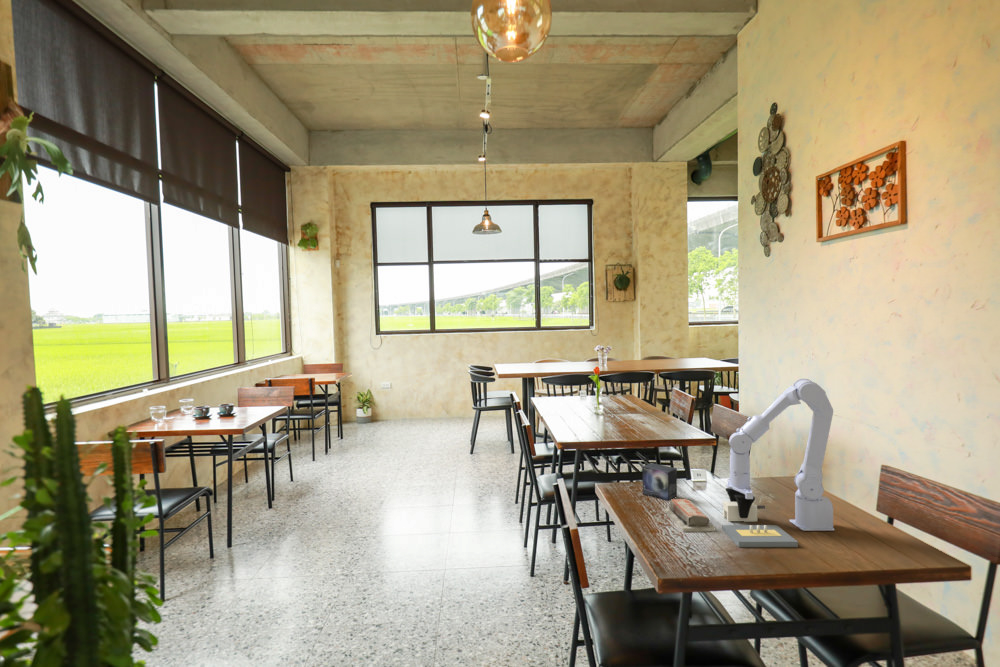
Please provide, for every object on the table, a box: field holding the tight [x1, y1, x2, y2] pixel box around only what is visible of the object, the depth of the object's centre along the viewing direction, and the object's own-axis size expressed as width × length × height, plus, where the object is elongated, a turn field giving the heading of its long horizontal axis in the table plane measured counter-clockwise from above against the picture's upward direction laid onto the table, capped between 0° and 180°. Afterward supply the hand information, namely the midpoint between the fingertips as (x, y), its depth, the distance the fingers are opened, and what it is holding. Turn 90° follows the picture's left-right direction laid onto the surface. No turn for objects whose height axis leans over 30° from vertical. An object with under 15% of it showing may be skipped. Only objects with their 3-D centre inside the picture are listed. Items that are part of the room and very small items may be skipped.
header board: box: [721, 524, 799, 548], centre depth 152 cm, size 16×12×4 cm
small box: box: [642, 462, 678, 502], centre depth 191 cm, size 11×6×10 cm, turn 43°
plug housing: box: [722, 501, 766, 522], centre depth 167 cm, size 12×4×5 cm, turn 88°
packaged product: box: [664, 498, 717, 533], centre depth 167 cm, size 18×5×10 cm
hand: (740, 514), depth 167 cm, fingers open, 5 cm apart
